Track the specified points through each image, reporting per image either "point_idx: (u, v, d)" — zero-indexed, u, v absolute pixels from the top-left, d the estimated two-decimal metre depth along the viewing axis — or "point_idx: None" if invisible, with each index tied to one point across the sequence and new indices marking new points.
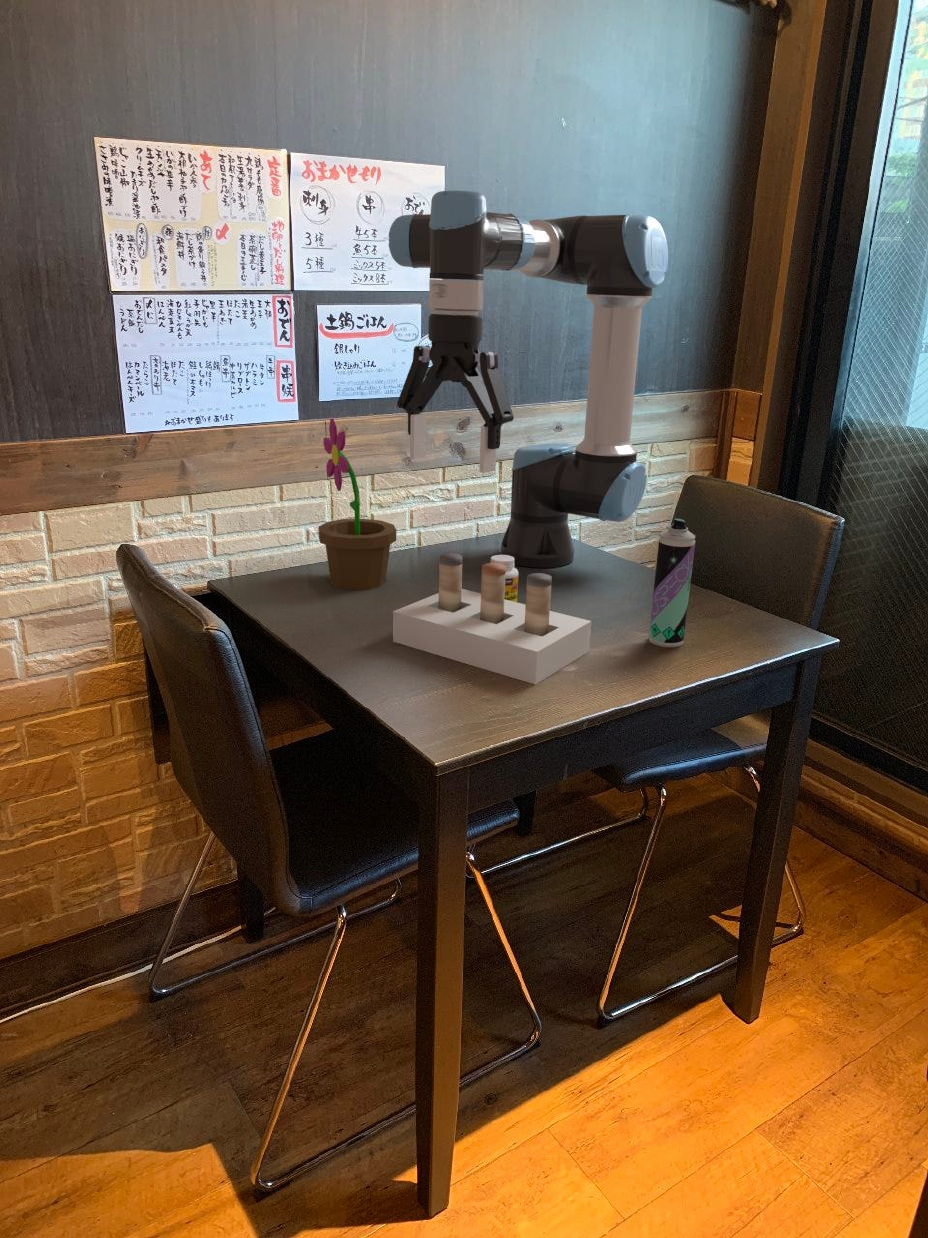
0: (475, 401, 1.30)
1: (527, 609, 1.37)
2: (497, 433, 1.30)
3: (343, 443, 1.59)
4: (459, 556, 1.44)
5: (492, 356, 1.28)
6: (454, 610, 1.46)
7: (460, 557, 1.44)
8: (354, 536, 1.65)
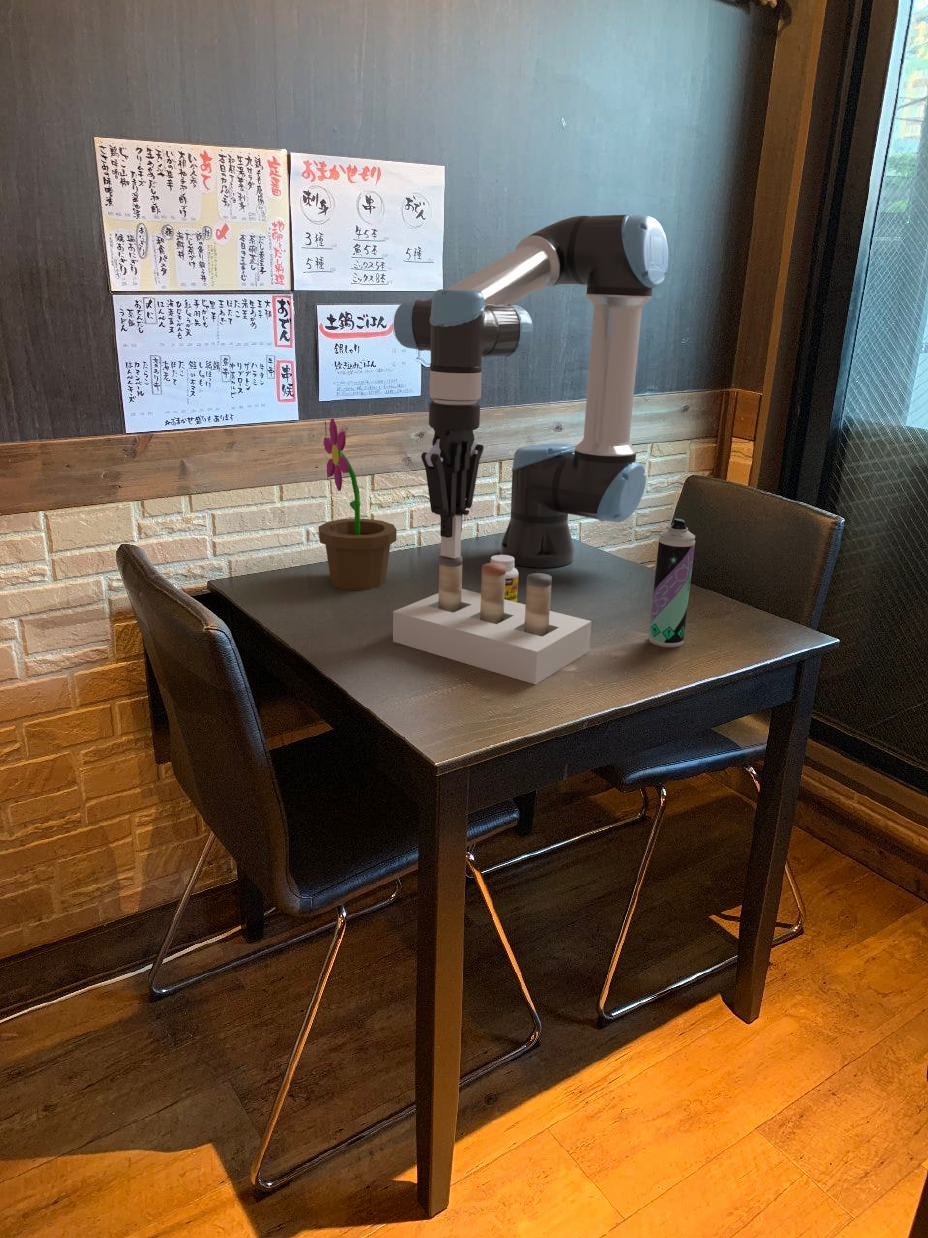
0: None
1: (527, 609, 1.37)
2: (444, 523, 1.41)
3: (343, 443, 1.59)
4: (459, 557, 1.44)
5: (429, 460, 1.34)
6: (454, 611, 1.46)
7: (460, 558, 1.44)
8: (354, 536, 1.65)
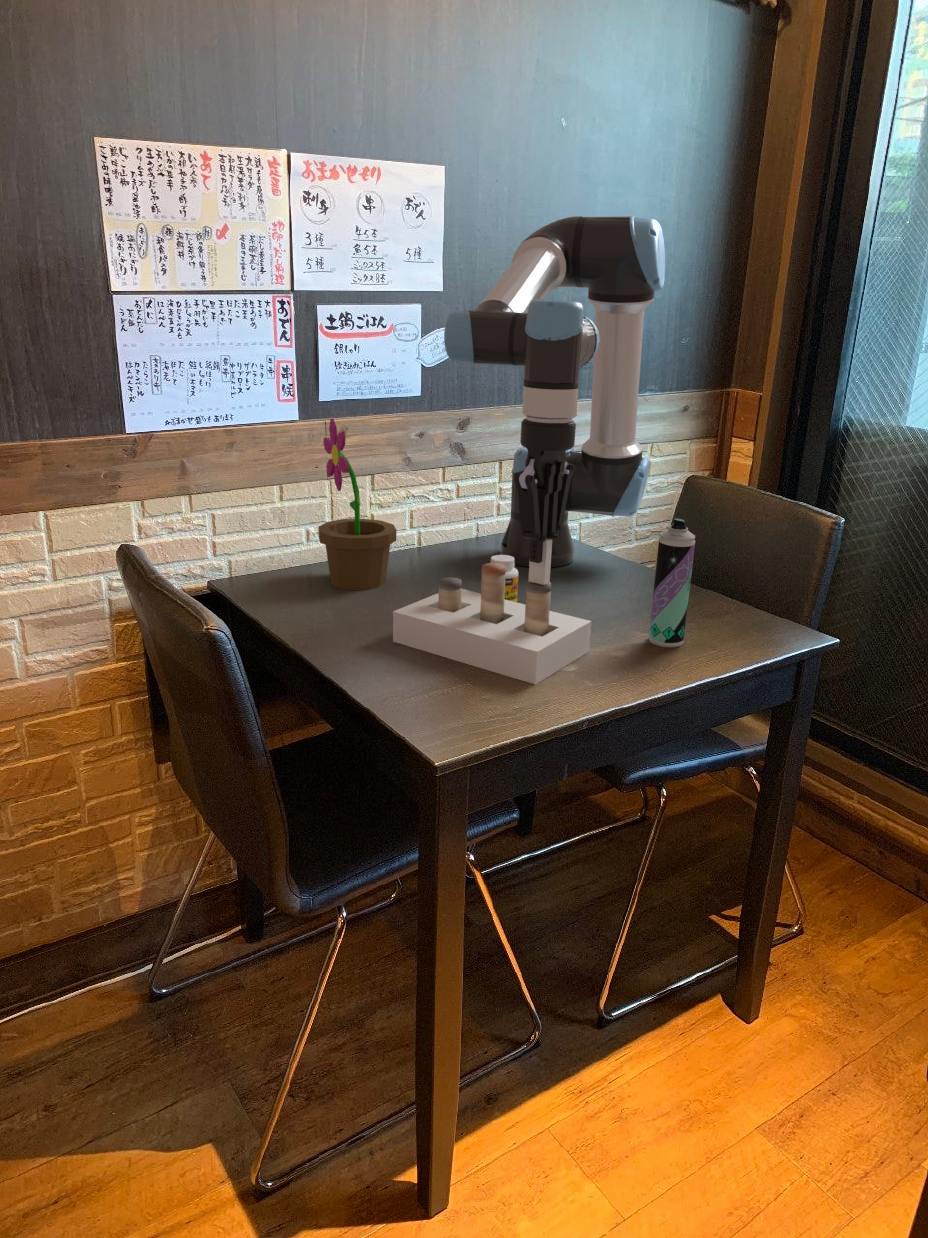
0: None
1: (527, 615, 1.37)
2: (534, 548, 1.33)
3: (343, 443, 1.59)
4: (458, 581, 1.46)
5: (523, 482, 1.26)
6: None
7: (459, 581, 1.46)
8: (354, 536, 1.65)
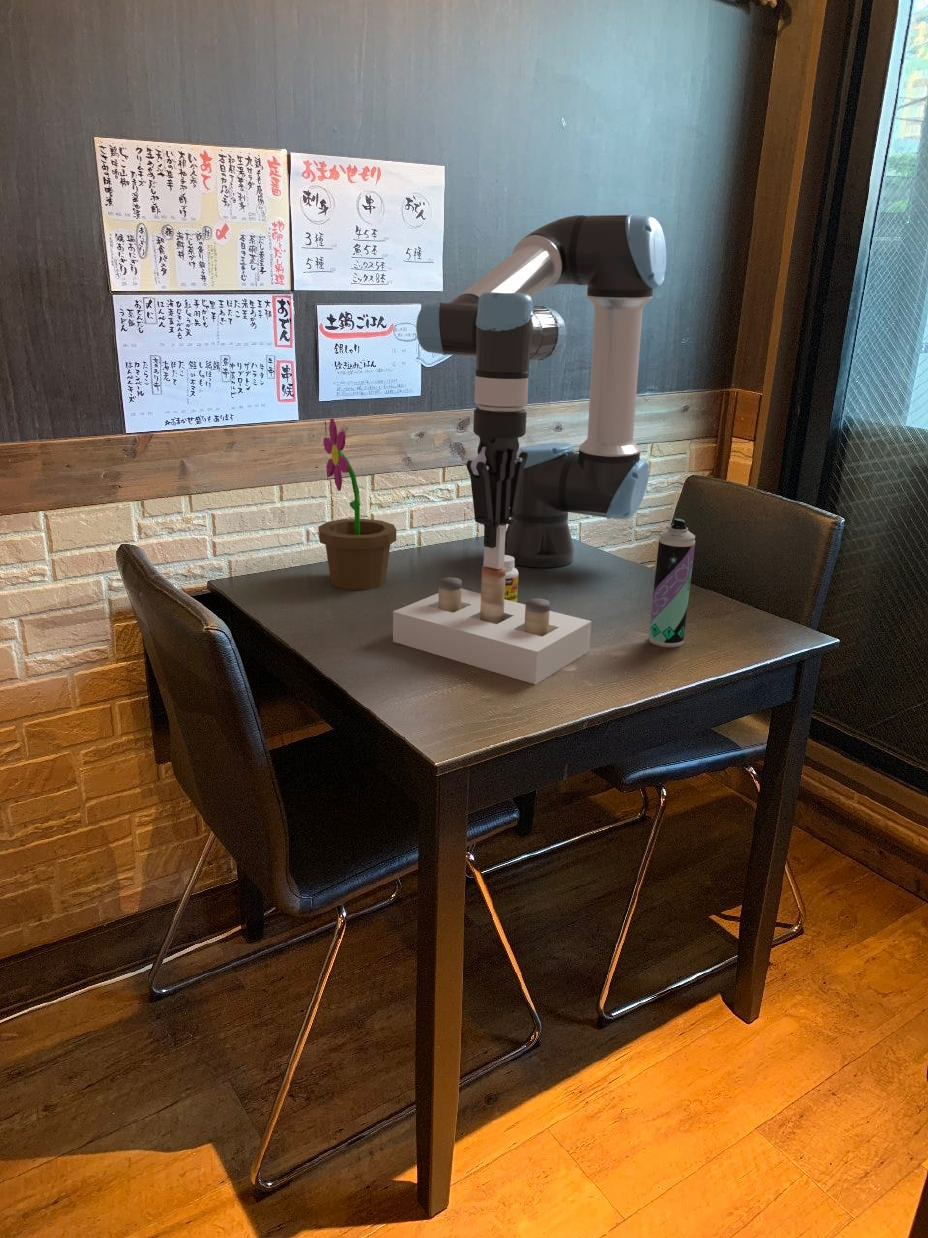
0: None
1: None
2: (488, 533, 1.37)
3: (343, 442, 1.59)
4: (458, 581, 1.46)
5: (474, 468, 1.30)
6: None
7: (459, 581, 1.46)
8: (354, 535, 1.65)
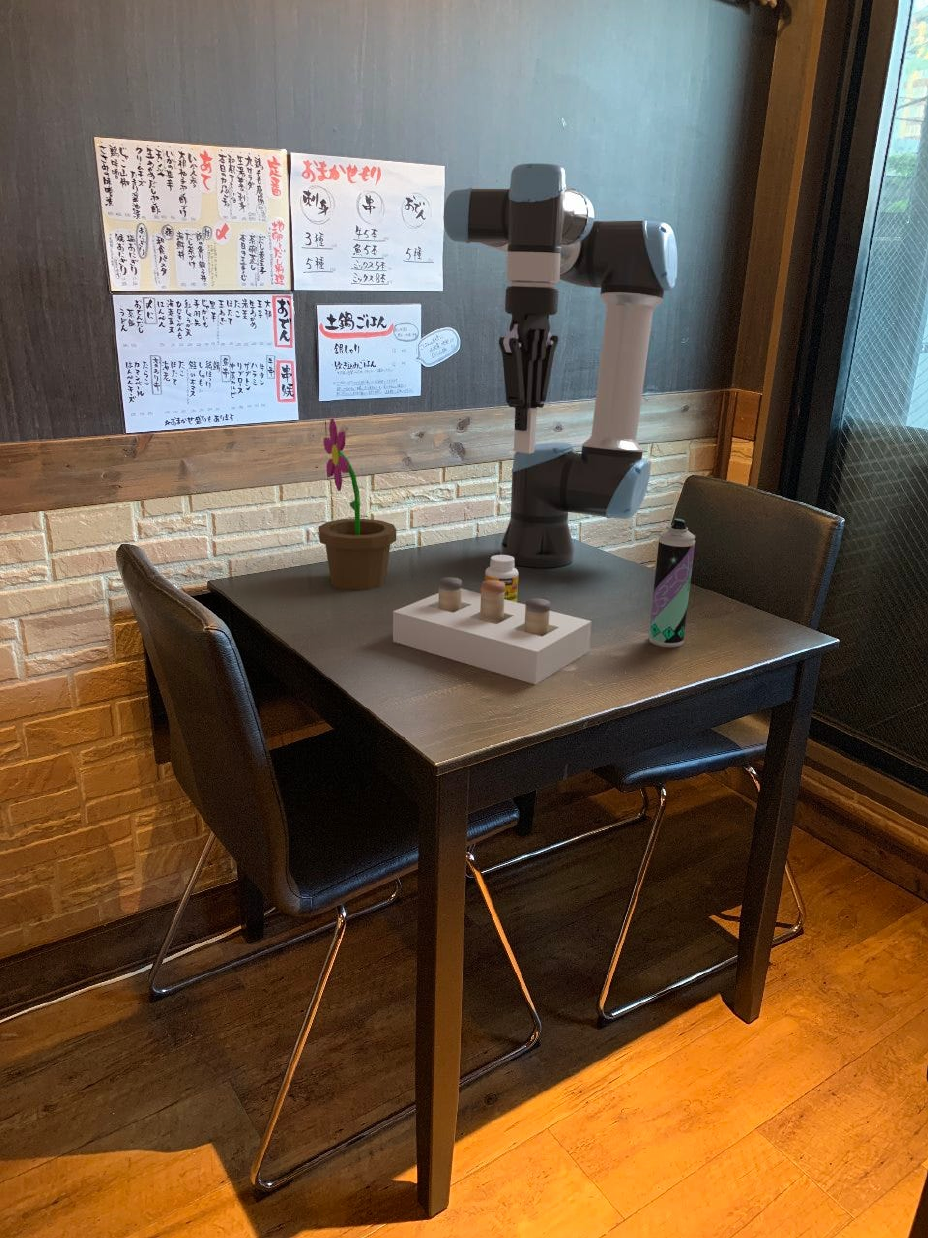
0: None
1: None
2: (519, 415, 1.37)
3: (343, 443, 1.59)
4: (458, 581, 1.46)
5: (507, 344, 1.30)
6: None
7: (459, 581, 1.46)
8: (354, 536, 1.65)
